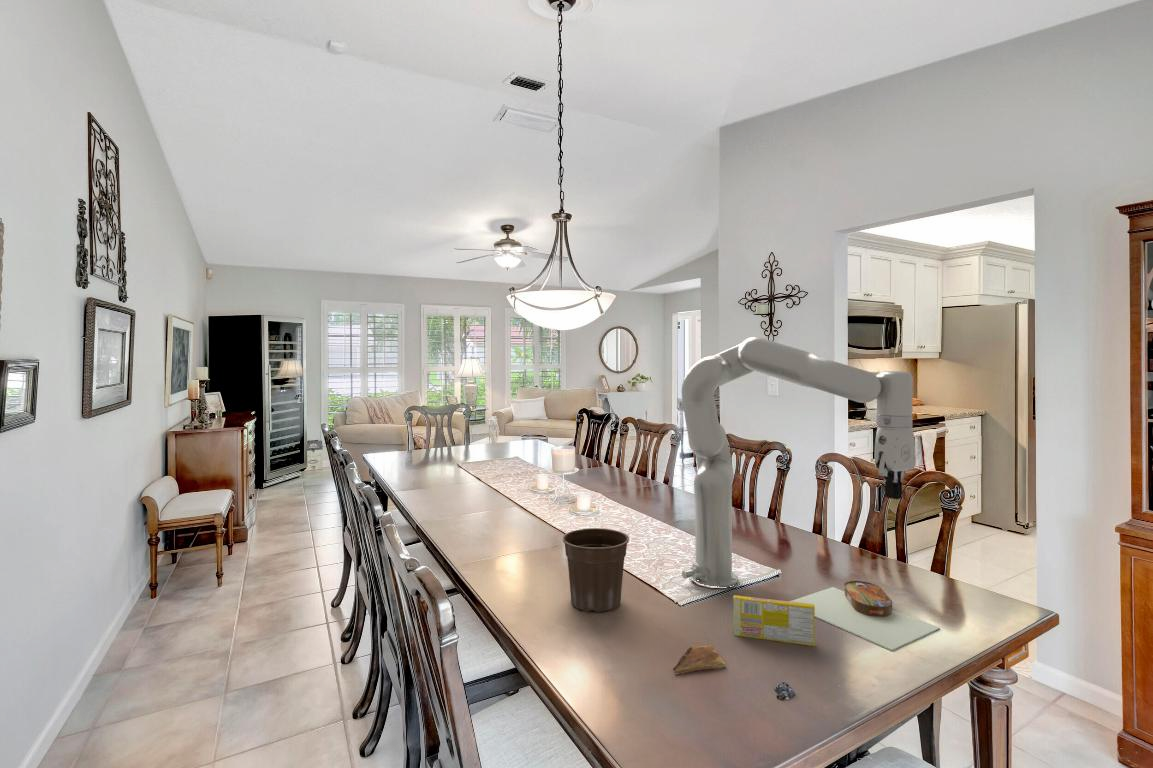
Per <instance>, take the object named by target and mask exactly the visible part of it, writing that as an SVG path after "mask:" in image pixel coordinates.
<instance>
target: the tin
mask: <svg viewBox="0 0 1153 768" xmlns="http://www.w3.org/2000/svg"><path fill="white" fill-rule="evenodd" d="M843 586H844V592H845V596H846V597H847V599H848V600H849V602H850V603H851V604H852V606H853V607H854V609H855V610H857V611H859V612H861V613H863V614H867V615H877V616H888V615H890V614H891V613H892V610H893V603H894V602H893V600H892V599H891V598H890V596H889V595H888V594H887V593H885V591H884V589H883V588H881V587H880V586H879V585H877V584H875V583H871V582H868V581H863V580H861V581H860V580H852V581H851V580H850V581H846V582H845V583H844V584H843Z"/></svg>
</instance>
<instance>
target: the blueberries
mask: <svg viewBox="0 0 1153 768" xmlns="http://www.w3.org/2000/svg"><path fill="white" fill-rule="evenodd" d="M774 692H775V693H776V694H777V695H776V696H775V697H776V699H777V700H780V701H784V700H789V699H792V698H795V696H796V693H795V690H794V689H793V688H792V687H791V686H790V685H789V683H787V682H786V681H782V682H780V683H779V684H778V685H777V686H775V687H774Z"/></svg>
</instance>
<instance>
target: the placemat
mask: <svg viewBox="0 0 1153 768" xmlns="http://www.w3.org/2000/svg"><path fill="white" fill-rule="evenodd" d="M788 601H789V600H788ZM789 602H799V603H808V604H814V606H815V618H816V619H818V620H821V621H823V622H824V623H828V624H830V625H831V626H834V627H836V628H838V627H839V628H838V629H841V630H843V631H845V632H847V631H848V633H849V634H852V635H854V636H857V637H858V638H861V639H863V640H866V641H868V642H870V643H872V644H875V645H877V646H880V647H881V648H884V649H886V650H887V651H890V652H893V651H895V650H898V649H900V648H901V647H904V646H906V645H908V644H910V643H913V642H915V641H918V640H919V639H921V638H924V637H926V636H928V635H930V634H932V633H935V632H936V630H937V631H938V629H939V630H940V629H941V627H939V626H937V625H934V624H931V623H929V622H927V621H925V620H924V621H923V620H921V619H919V618H916V617H913V616H910V615H908V614H905V613H903V612H900V611H897V610H895V609H892V613H891V614H890V615H888V616H877V615H867V614H863V613H861V612H859V611H857V610H855V609H854V607H853V606H852V604H851V603H850V602H849V600H848V599H847V597H846V596H845V590H841V589H838V588H836V587H833V586H831V587H829V588H825V589H823V590H819V591H816V592H813V593H810V594H808V595H805V596H802V597H799V598H796V599H793V600H790V601H789ZM934 631H935V632H934Z"/></svg>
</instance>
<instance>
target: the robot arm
mask: <svg viewBox="0 0 1153 768" xmlns="http://www.w3.org/2000/svg"><path fill="white" fill-rule="evenodd" d="M753 372H757V373H760V374H764V375H767V376H771V377H774V378H776V379H779V380H782V381H786V382H789V383H792V384H796V385H799V386H802V387H806V388H811V389H816V390H819V391H823V392H826V393H828V394H832V395H834V396H838V397H841V398H845V399H848V400H850V401H854V402H856V403H861V404H862V403H863V404H866V403H870V402H872V401H874V400H875V399H876V435H875V442H874V458H873V459H874V467H875V468H876V469H878V472H877V474H878V476H883V482H884V483H885V484H884V485H885V486H884V496H885V498H889V499H894V500H900V499H902V498H903V482H904V479H905V477H904V476H905V474H906V473H908V472H909V470H912V469H914V467H916V462H917V461H916V459H917V457H916V456H917V455H916V442H915V433H914V429H913V412H914V411H913V407H914V405H913V404H914V403H913V402H914V401H913V398H914V397H913V396H914V395H913V393H914V377H913V375H912V373H911V372H909V371H904V370H903V371H902V370H901V371H900V370H897V371H896V370H895V371H894V370H893V371H892V370H891V371H890V370H889V371H882V372H881V371H880V372H877V371H876V372H875V371H867V370H866V369H865V370H864V369H861V368H857V367H854V366H850V365H848V364H845V363H842V362H837V361H834V360H831V359H828V358H825V357H822V356H819V355H818V354H815V353H812V352H809V351H806V350H803V349H799V348H796V347H793V346H790V345H786V344H782V343H778V342H777V341H774V340H773V341H772V340H769V339H766V338H762V337H758V336H752V337H748V338H745V339H744V340H743V341H742V342H740V343H739V344H737V345H735V346H733V347H731V348H728V349H726V350H723V351H720V352H719V353H717V354H715V355H713V354H712V355H707V356H705V357H703V358H701V359H700V360H698V361H697V362H695V363H694V364H693V365H692V366H691V367H690V368H689V369H688V370H687V372H686V374H685V376H684V378H683V380H682V385H681V401H682V408H683V414H684V420H685V425H686V431H687V438H688V445H689V448H690V450H691V451H692V453H693V454H695V459H696V464H697V471H696V473H695V476H694V481H693V493H694V511H695V512H694V513H695V515H694V517H695V518H694V519H695V521H694V523H695V524H694V525H695V527H694V528H695V537H694V539H695V544H694V545H695V548H694V549H695V550H694V551H695V562H693V563H692V567H691V568H690V569H686V570H682V572H681V577H682V578H683V579H688V578H689V579H690V577H691V579H693V580H694V581H696V582H698V583H700V584H704V585H709V586H717V587H718V586H719V587H730V586H733V585H735V584H736V583H737V582H739V577H738V575H737V574H736V573H735V572H733V509H732V508H733V503H732V502H733V498H732V497H733V495H732V494H733V491H732V490H733V482H734V474H735V472H734V468H733V463H732V457H731V451H730V447H729V441H728V436H727V433H726V430H725V428H724V427H723V425H722V424H720V422H719V417H718V410H717V405H716V401H715V392H716V390H717V388H718V387H721V386H724V385H725V384H727V383H730V382H731V381H735V380H738V379H739V378H741V377H743V376H746V375H749V374H751V373H753ZM697 580H699V581H697ZM737 584H738V583H737ZM737 584H736V585H737ZM736 585H735V586H736ZM733 587H734V586H733ZM730 588H731V587H730Z"/></svg>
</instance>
